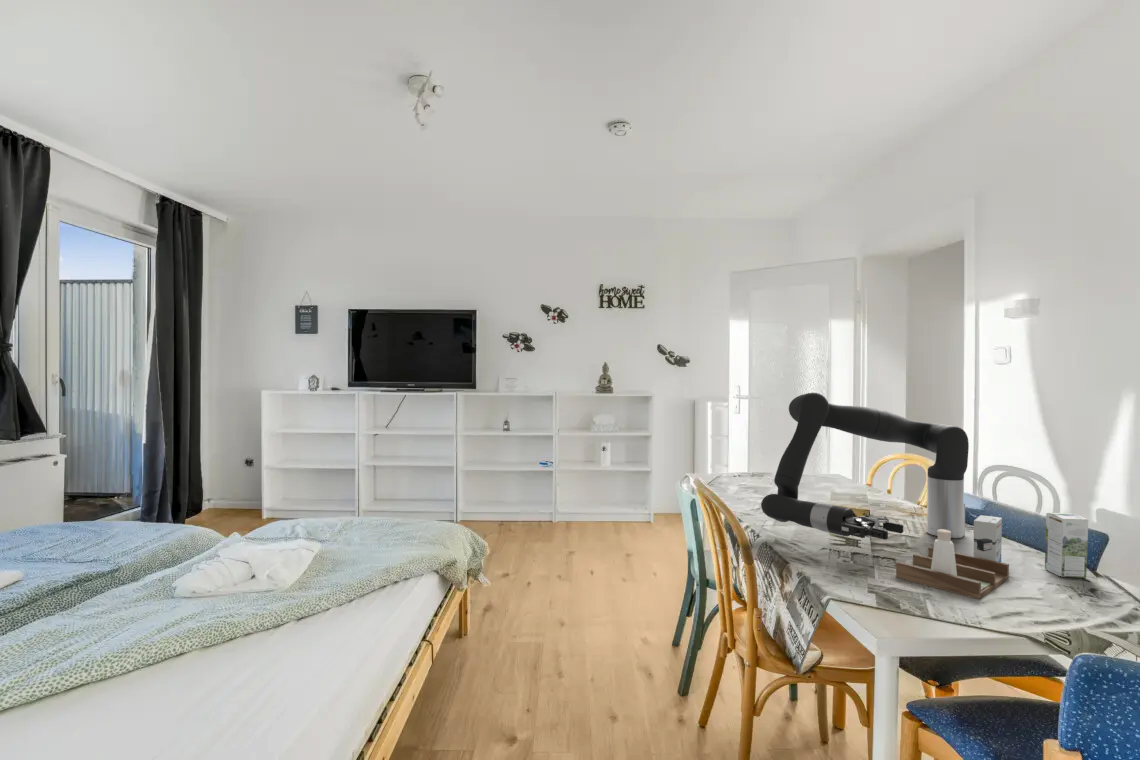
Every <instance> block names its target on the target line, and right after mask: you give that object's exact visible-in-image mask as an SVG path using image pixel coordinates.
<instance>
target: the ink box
mask: <svg viewBox="0 0 1140 760" xmlns="http://www.w3.org/2000/svg"><path fill="white" fill-rule="evenodd" d="M1002 526H1003V517H998V516H991V515H982V514H980V515H979V516H977V517H976V518H975V519H974V520H973V556H974V557H979V558H983V559H988V560H992V561H997V562H1001V563H1002V544H1003V543H1002V539H1003V538H1002V537H1003V536H1002V535H1003V534H1002V531H1003V530H1002V529H1003V527H1002Z"/></svg>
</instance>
